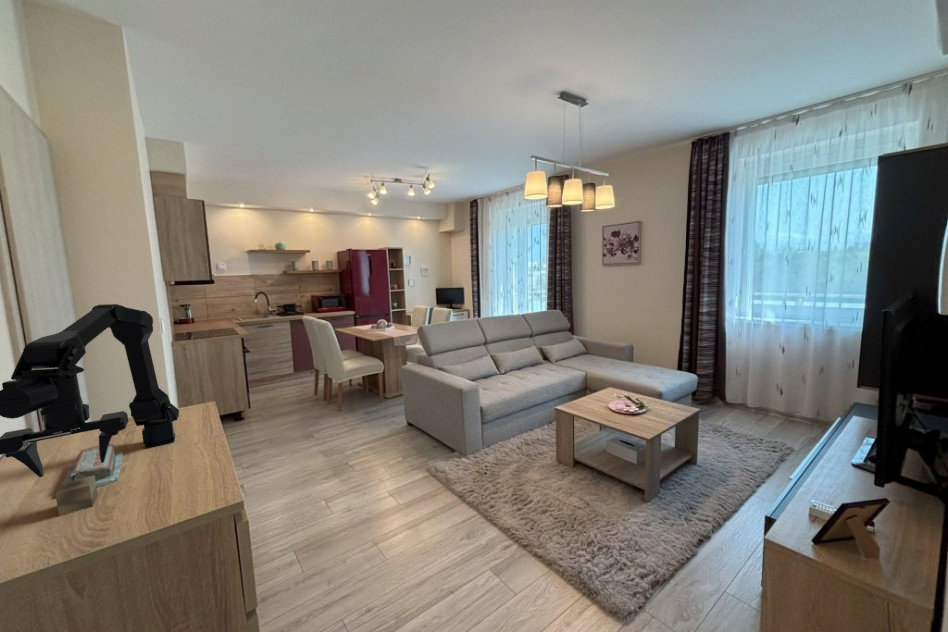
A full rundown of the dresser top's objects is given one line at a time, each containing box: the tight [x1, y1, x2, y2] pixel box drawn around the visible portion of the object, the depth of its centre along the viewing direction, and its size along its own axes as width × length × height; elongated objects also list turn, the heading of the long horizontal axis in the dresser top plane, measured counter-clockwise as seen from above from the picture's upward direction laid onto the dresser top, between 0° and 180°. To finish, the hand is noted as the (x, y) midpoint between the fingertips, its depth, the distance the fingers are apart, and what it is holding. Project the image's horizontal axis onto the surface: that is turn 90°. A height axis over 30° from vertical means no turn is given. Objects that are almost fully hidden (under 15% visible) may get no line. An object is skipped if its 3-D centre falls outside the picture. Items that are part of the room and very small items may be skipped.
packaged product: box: [62, 443, 124, 488], centre depth 94 cm, size 18×5×10 cm
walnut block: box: [54, 475, 99, 517], centre depth 81 cm, size 5×5×5 cm
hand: (73, 468), depth 80 cm, fingers open, 9 cm apart
